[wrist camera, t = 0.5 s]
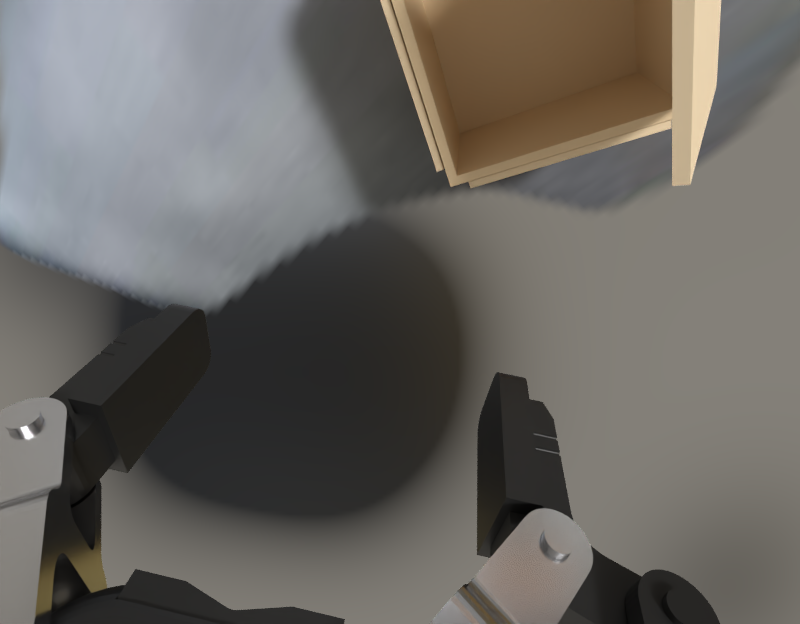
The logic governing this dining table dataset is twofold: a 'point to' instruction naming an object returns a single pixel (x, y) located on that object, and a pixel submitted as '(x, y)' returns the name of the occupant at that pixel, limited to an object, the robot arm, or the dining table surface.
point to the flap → (692, 79)
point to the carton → (532, 78)
